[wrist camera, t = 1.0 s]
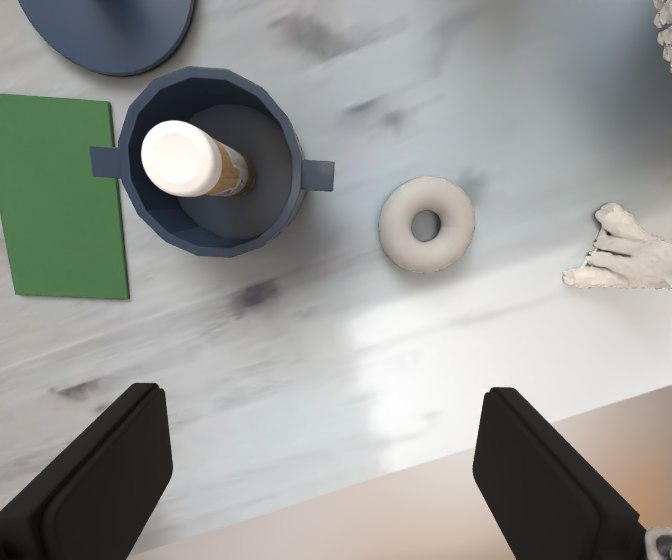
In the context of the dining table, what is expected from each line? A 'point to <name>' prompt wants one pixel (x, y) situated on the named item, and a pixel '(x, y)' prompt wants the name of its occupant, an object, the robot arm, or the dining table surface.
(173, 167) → the sprinkles bottle
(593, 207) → the dining table surface
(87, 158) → the green flat rectangular board
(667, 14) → the white wicker basket
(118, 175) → the pot
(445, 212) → the donut
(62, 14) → the lid
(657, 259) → the seated beast figurine
